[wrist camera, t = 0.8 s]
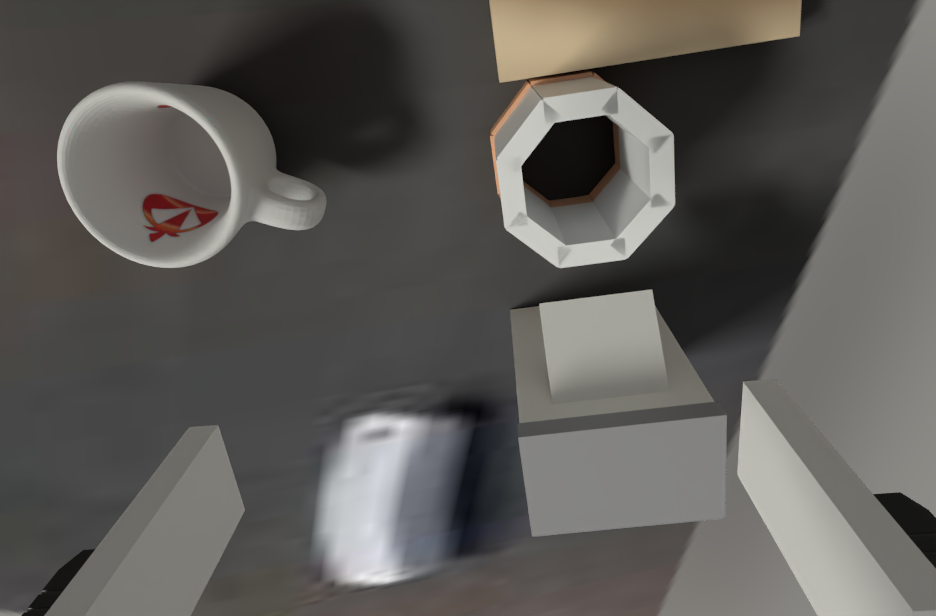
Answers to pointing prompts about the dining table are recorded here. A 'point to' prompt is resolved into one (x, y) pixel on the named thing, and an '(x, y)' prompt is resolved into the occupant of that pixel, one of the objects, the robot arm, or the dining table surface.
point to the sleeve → (613, 199)
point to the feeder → (613, 418)
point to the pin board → (627, 31)
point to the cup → (175, 172)
